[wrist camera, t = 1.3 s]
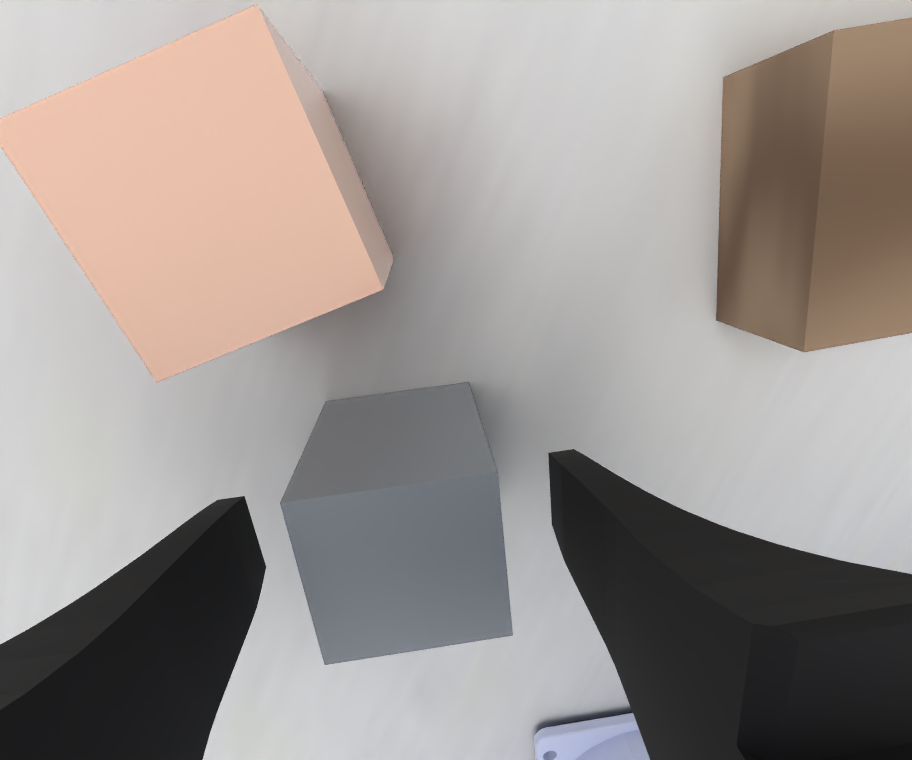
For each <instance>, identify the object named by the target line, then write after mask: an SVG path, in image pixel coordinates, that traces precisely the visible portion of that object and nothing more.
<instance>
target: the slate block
mask: <svg viewBox="0 0 912 760" xmlns="http://www.w3.org/2000/svg"><path fill="white" fill-rule="evenodd" d="M280 504H281V508H282V511H283V515H284V519H285V522H286V526H287V530H288V533H289V537H290V540H291V544H292V548H293V551H294V555H295V559H296V562H297V566H298V570H299V573H300V577H301V581H302V584H303V588H304V592H305V595H306V599H307V602H308V606H309V610H310V613H311V617H312V621H313V624H314V628H315V632H316V635H317V639H318V643H319V646H320V650H321V653H322V657H323V661H324V664H325V665H328V664H334V663H340V662H347V661H353V660H359V659H366V658H372V657H379V656H385V655H391V654H398V653H404V652H410V651H417V650H423V649H429V648H436V647H442V646H448V645H455V644H461V643H468V642H474V641H480V640H487V639H493V638H499V637H506V636H512V635H513V632H512V622H511V611H510V600H509V589H508V579H507V568H506V557H505V546H504V536H503V525H502V514H501V503H500V493H499V482H498V472H497V469H496V466H495V463H494V459H493V456H492V453H491V450H490V447H489V444H488V441H487V438H486V435H485V432H484V429H483V426H482V423H481V420H480V416H479V413H478V410H477V407H476V404H475V401H474V398H473V395H472V392H471V389H470V386H469V383H468V382H466V383H459V384H451V385H444V386H436V387H429V388H421V389H414V390H407V391H399V392H392V393H384V394H377V395H369V396H362V397H355V398H347V399H340V400H332V401H326V402H325V404H324V407H323V409H322V411H321V413H320V415H319V418H318V420H317V422H316V424H315V427H314V429H313V431H312V433H311V436H310V438H309V440H308V442H307V444H306V447H305V449H304V451H303V453H302V456H301V458H300V460H299V462H298V464H297V467H296V469H295V471H294V473H293V476H292V478H291V480H290V482H289V484H288V487H287V489H286V491H285V493H284V496H283V498H282V500H281V502H280Z"/></svg>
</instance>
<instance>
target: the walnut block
mask: <svg viewBox="0 0 912 760" xmlns="http://www.w3.org/2000/svg"><path fill="white" fill-rule="evenodd" d="M716 320H717V321H720V322H723V323H725V324H728V325H731V326H734V327H736V328H739V329H742V330H745V331H747V332H750V333H753V334H755V335H758V336H761V337H764V338H766V339H769V340H772V341H775V342H777V343H780V344H783V345H786V346H788V347H791V348H794V349H797V350H799V351H802V352H808V351H814V350H819V349H825V348H830V347H836V346H841V345H847V344H853V343H858V342H864V341H869V340H875V339H880V338H886V337H892V336H897V335H903V334H908V333H912V18H908V19H902V20H895V21H889V22H883V23H877V24H871V25H865V26H858V27H852V28H846V29H840V30H834V31H832V32H829V33H827V34H824V35H822V36H820V37H817V38H815V39H813V40H810V41H808V42H806V43H803V44H801V45H799V46H796V47H794V48H792V49H789V50H787V51H785V52H782V53H780V54H777V55H775V56H773V57H770V58H768V59H766V60H763V61H761V62H759V63H756V64H754V65H752V66H749V67H747V68H745V69H742V70H740V71H738V72H735V73H733V74H731V75H728V76H726V77H723V101H722V136H721V171H720V207H719V242H718V277H717V312H716Z"/></svg>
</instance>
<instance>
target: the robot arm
mask: <svg viewBox="0 0 912 760" xmlns="http://www.w3.org/2000/svg"><path fill="white" fill-rule="evenodd" d="M549 473H550V493H551V514H552V526H553V529H554V532H555V535H556V538H557V541H558V544H559V547H560V550H561V552H562V555H563V558H564V561H565V563H566V565H567V567H568V569H569V571H570V573H571V575H572V577H573V580H574V582H575V584H576V586H577V588H578V590H579V592H580V594H581V596H582V598H583V600H584V602H585V604H586V606H587V608H588V610H589V612H590V614H591V616H592V618H593V620H594V622H595V624H596V626H597V628H598V630H599V632H600V634H601V636H602V638H603V640H604V642H605V644H606V646H607V649H608V651H609V653H610V655H611V658H612V660H613V662H614V664H615V667H616V669H617V672H618V675H619V677H620V680H621V683H622V685H623V688H624V690H625V693H626V696H627V698H628V701H629V704H630V706H631V709H632V711H633V713H629V714H623V715H617V716H611V717H605V718H599V719H593V720H587V721H581V722H575V723H569V724H563V725H558V726H552V727H546V728H543V729H541V730H539V731H538V732H537V733H536V734H535V736H534V746H535V759H536V760H912V574H907V573H902V572H897V571H892V570H886V569H881V568H876V567H871V566H865V565H860V564H855V563H850V562H845V561H840V560H836V559H832V558H828V557H824V556H820V555H816V554H812V553H808V552H804V551H800V550H796V549H793V548H789V547H786V546H782V545H778V544H775V543H772V542H768V541H765V540H762V539H759V538H756V537H753V536H750V535H747V534H744V533H741V532H738V531H735V530H732V529H729V528H727V527H724V526H721V525H718V524H716V523H714V522H711V521H709V520H706V519H704V518H701V517H699V516H696V515H694V514H692V513H689V512H687V511H685V510H682V509H680V508H678V507H676V506H674V505H672V504H670V503H668V502H666V501H664V500H662V499H660V498H658V497H656V496H654V495H652V494H650V493H648V492H646V491H644V490H642V489H641V488H639V487H637V486H635V485H633V484H632V483H630V482H628V481H626V480H625V479H623V478H621V477H619V476H618V475H616V474H614V473H613V472H611V471H609V470H608V469H606V468H604V467H603V466H601V465H600V464H598V463H596V462H595V461H593V460H591V459H590V458H588V457H586V456H585V455H583V454H581V453H580V452H578V451H576V450H574V449H572V450H565V451H558V452H551V453H549ZM265 569H266V565H265V562H264V559H263V556H262V552H261V549H260V546H259V542H258V539H257V536H256V533H255V529H254V526H253V523H252V519H251V516H250V513H249V510H248V506H247V503H246V500H245V496H242V497H235V498H228V499H221V500H217V501H215V502H214V503H212V504H210V505H209V506H207V507H206V508H204V509H203V510H202V511H200V512H199V513H197V514H196V515H195V516H193V517H192V518H191V519H189V520H188V521H187V522H185V523H184V524H182V525H181V526H180V527H179V528H177V529H176V530H175V531H173V532H172V533H171V534H169V535H168V536H167V537H165V538H164V539H162V540H161V541H160V542H158V543H157V544H156V545H154V546H153V547H152V548H150V549H149V550H148V551H146V552H145V553H144V554H142V555H141V556H140V557H138V558H137V559H135V560H134V561H133V562H131V563H130V564H128V565H127V566H125V567H124V568H123V569H121V570H120V571H118V572H117V573H116V574H114V575H113V576H111V577H110V578H108V579H107V580H106V581H104V582H103V583H101V584H100V585H98V586H97V587H96V588H94V589H93V590H91V591H90V592H88V593H87V594H85V595H83V596H82V597H80V598H79V599H77V600H76V601H74V602H73V603H71V604H69V605H68V606H66V607H65V608H63V609H61V610H60V611H58V612H56V613H55V614H53V615H51V616H50V617H48V618H46V619H45V620H43V621H42V622H40V623H38V624H37V625H35V626H33V627H31V628H30V629H28V630H26V631H25V632H23V633H21V634H19V635H17V636H15V637H13V638H12V639H10V640H8V641H6V642H4V643H2V644H1V645H0V760H202V759H203V756H204V752H205V748H206V745H207V741H208V738H209V734H210V731H211V728H212V725H213V722H214V719H215V716H216V713H217V710H218V708H219V705H220V702H221V700H222V697H223V695H224V692H225V690H226V687H227V684H228V682H229V679H230V677H231V674H232V671H233V669H234V666H235V664H236V661H237V659H238V656H239V653H240V651H241V648H242V646H243V643H244V640H245V638H246V635H247V632H248V630H249V627H250V625H251V622H252V619H253V616H254V614H255V611H256V608H257V604H258V600H259V596H260V592H261V588H262V583H263V579H264V574H265Z"/></svg>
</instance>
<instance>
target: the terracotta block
mask: <svg viewBox="0 0 912 760" xmlns="http://www.w3.org/2000/svg"><path fill="white" fill-rule="evenodd" d="M0 146H1V148H2V149H3V151H4V152H5V154H6V155H7V157H8V158H9V160H10V161H11V163H12V164H13V166H14V167H15V169H16V170H17V172H18V174H19V175H20V177H21V178H22V180H23V181H24V183H25V184H26V186H27V187H28V189H29V190H30V192H31V193H32V195H33V196H34V198H35V199H36V201H37V202H38V204H39V205H40V207H41V208H42V210H43V211H44V213H45V214H46V216H47V217H48V219H49V220H50V222H51V223H52V225H53V226H54V228H55V230H56V231H57V233H58V234H59V236H60V237H61V239H62V240H63V242H64V243H65V245H66V246H67V248H68V249H69V251H70V252H71V254H72V255H73V257H74V258H75V260H76V261H77V263H78V264H79V266H80V267H81V269H82V270H83V272H84V273H85V275H86V276H87V278H88V279H89V281H90V282H91V284H92V286H93V287H94V289H95V290H96V292H97V293H98V295H99V296H100V298H101V299H102V301H103V302H104V304H105V305H106V307H107V308H108V310H109V311H110V313H111V314H112V316H113V317H114V319H115V320H116V322H117V323H118V325H119V326H120V328H121V329H122V331H123V332H124V334H125V335H126V337H127V338H128V340H129V342H130V343H131V345H132V346H133V348H134V349H135V351H136V352H137V354H138V355H139V357H140V358H141V360H142V361H143V363H144V364H145V366H146V367H147V369H148V370H149V372H150V373H151V375H152V376H153V378H154V379H155V381H156V382H159V381H162V380H164V379H167V378H169V377H172V376H174V375H176V374H179V373H181V372H184V371H186V370H189V369H191V368H194V367H196V366H198V365H201V364H203V363H206V362H208V361H211V360H213V359H215V358H218V357H220V356H223V355H225V354H228V353H230V352H233V351H235V350H237V349H240V348H242V347H245V346H247V345H250V344H252V343H254V342H257V341H259V340H262V339H264V338H267V337H269V336H272V335H274V334H276V333H279V332H281V331H284V330H286V329H289V328H291V327H294V326H296V325H298V324H301V323H303V322H306V321H308V320H311V319H313V318H315V317H318V316H320V315H323V314H325V313H328V312H330V311H333V310H335V309H337V308H340V307H342V306H345V305H347V304H350V303H352V302H354V301H357V300H359V299H362V298H364V297H367V296H369V295H372V294H374V293H376V292H379V291H381V290H384V287H385V284H386V281H387V278H388V275H389V272H390V269H391V267H392V264H393V261H394V258H393V255H392V253H391V251H390V248H389V246H388V243H387V241H386V239H385V236H384V234H383V232H382V229H381V227H380V225H379V222H378V220H377V218H376V215H375V213H374V211H373V208H372V206H371V204H370V201H369V199H368V196H367V194H366V192H365V189H364V187H363V185H362V182H361V180H360V178H359V175H358V173H357V171H356V168H355V166H354V164H353V161H352V159H351V156H350V154H349V152H348V149H347V147H346V145H345V142H344V140H343V138H342V135H341V133H340V131H339V128H338V126H337V124H336V121H335V119H334V117H333V114H332V112H331V109H330V107H329V105H328V102H327V100H326V98H325V95H324V93H323V91H322V89H321V88H320V87H319V85H318V84H317V83H316V82H315V80H314V79H313V78H312V76H311V75H310V74H309V72H308V71H307V70H306V68H305V67H304V66H303V64H302V63H301V62H300V60H299V59H298V58H297V56H296V55H295V54H294V52H293V51H292V50H291V48H290V47H289V46H288V44H287V43H286V42H285V40H284V39H283V38H282V37H281V35H280V34H279V33H278V31H277V30H276V29H275V27H274V26H273V25H272V23H271V22H270V21H269V19H268V18H267V17H266V15H265V14H264V13H263V11H262V10H261V9H260V7H259V6H258V5H254V6H252V7H250V8H248V9H245V10H243V11H241V12H239V13H236V14H234V15H232V16H230V17H227V18H225V19H223V20H221V21H218V22H216V23H214V24H212V25H209V26H207V27H205V28H203V29H200V30H198V31H196V32H194V33H191V34H189V35H187V36H185V37H182V38H180V39H178V40H176V41H173V42H171V43H169V44H167V45H164V46H162V47H160V48H158V49H155V50H153V51H151V52H149V53H146V54H144V55H142V56H140V57H137V58H135V59H133V60H131V61H128V62H126V63H124V64H122V65H119V66H117V67H115V68H113V69H110V70H108V71H106V72H104V73H101V74H99V75H97V76H95V77H93V78H90V79H88V80H86V81H84V82H81V83H79V84H77V85H75V86H72V87H70V88H68V89H66V90H63V91H61V92H59V93H57V94H54V95H52V96H50V97H48V98H45V99H43V100H41V101H39V102H36V103H34V104H32V105H30V106H27V107H25V108H23V109H21V110H18V111H16V112H14V113H12V114H9V115H7V116H5V117H3V118H0Z"/></svg>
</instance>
